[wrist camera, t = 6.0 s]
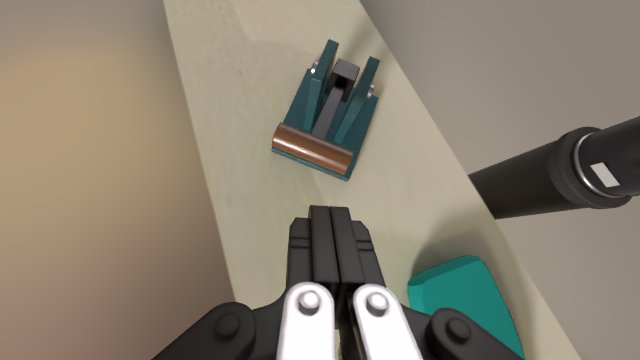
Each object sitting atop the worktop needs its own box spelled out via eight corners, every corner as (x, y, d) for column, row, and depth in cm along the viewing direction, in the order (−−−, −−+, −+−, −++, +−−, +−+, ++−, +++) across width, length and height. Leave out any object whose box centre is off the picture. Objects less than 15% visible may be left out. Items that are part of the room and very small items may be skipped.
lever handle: (340, 182, 20) (352, 161, 18) (269, 153, 20) (274, 129, 18) (366, 94, 28) (376, 73, 26) (316, 73, 28) (322, 51, 26)
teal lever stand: (347, 181, 34) (378, 149, 23) (271, 151, 34) (266, 103, 22) (375, 102, 37) (416, 38, 26) (307, 73, 37) (317, -4, 26)
